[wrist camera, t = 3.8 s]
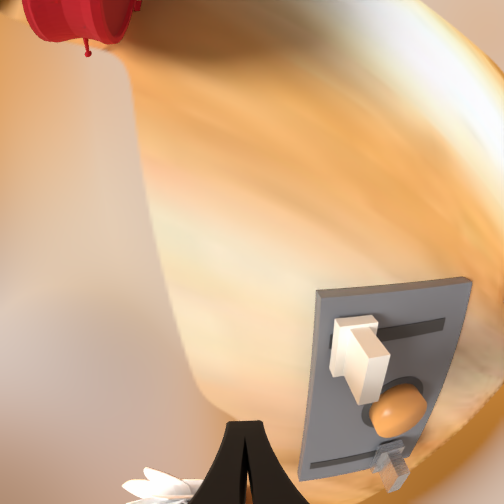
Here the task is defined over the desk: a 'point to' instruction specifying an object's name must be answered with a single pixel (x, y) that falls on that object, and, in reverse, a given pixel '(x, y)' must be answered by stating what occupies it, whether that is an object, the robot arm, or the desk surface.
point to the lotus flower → (162, 488)
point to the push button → (397, 410)
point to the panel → (398, 371)
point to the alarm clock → (80, 19)
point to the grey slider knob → (390, 465)
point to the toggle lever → (359, 357)
